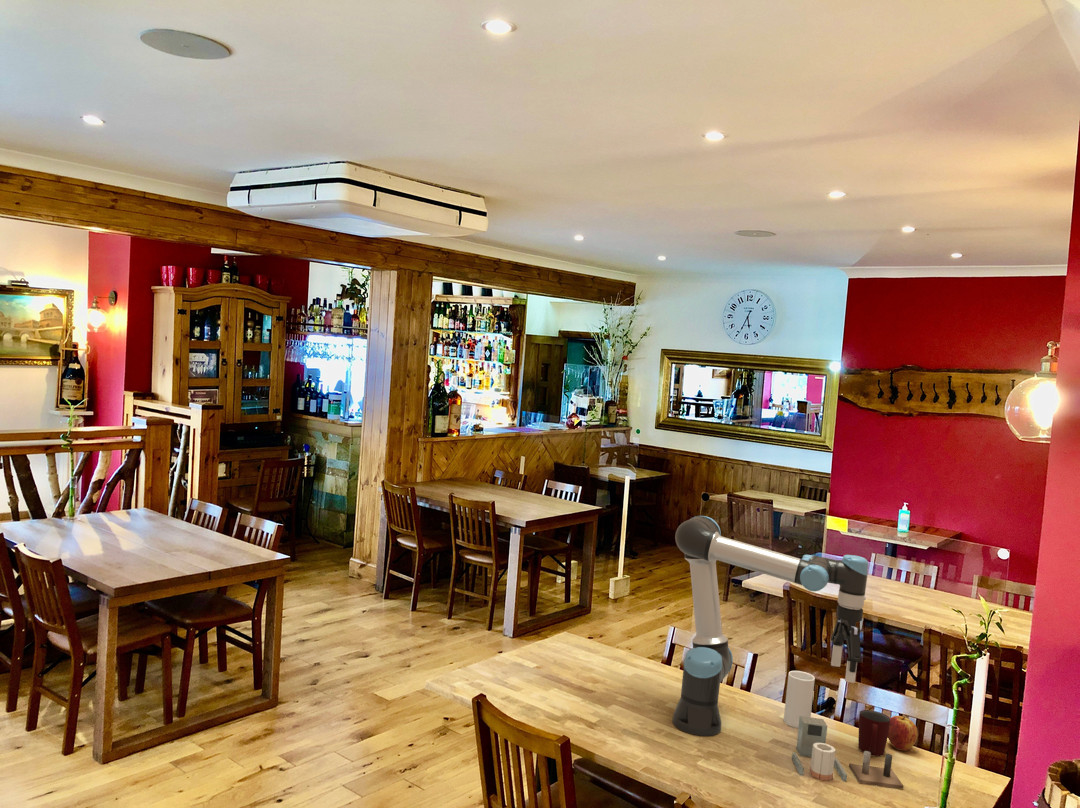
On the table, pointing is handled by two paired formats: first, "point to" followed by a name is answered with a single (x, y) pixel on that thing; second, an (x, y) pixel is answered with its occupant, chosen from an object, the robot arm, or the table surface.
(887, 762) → the brown peg board
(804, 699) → the cup
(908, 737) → the apple
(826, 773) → the sleeve
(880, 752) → the mug
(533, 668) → the table surface
